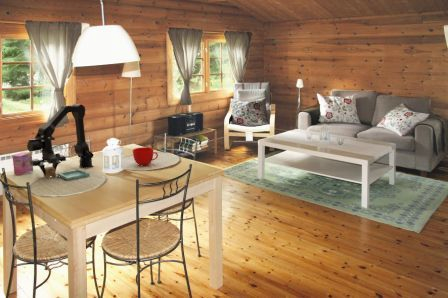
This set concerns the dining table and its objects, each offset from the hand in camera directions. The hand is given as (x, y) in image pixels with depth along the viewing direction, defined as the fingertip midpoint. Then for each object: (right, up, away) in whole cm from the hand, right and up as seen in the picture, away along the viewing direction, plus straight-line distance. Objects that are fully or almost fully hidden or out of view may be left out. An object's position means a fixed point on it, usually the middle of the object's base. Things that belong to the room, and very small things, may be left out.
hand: (49, 174), depth 247 cm
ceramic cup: (+52, +5, +24) cm, 58 cm away
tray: (+14, -1, 0) cm, 14 cm away
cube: (0, -1, 0) cm, 1 cm away
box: (-19, 0, +8) cm, 21 cm away
